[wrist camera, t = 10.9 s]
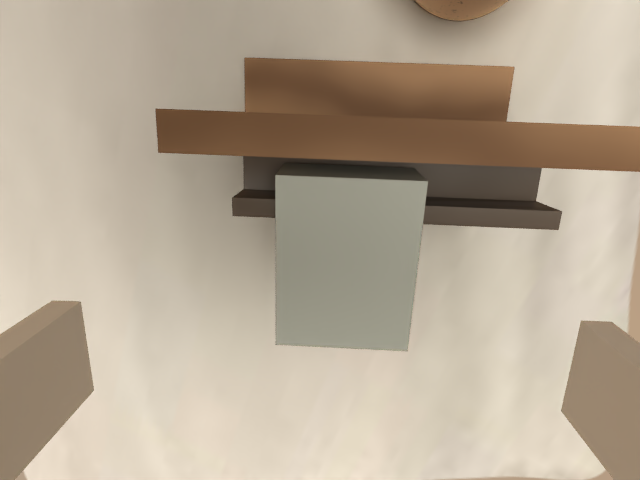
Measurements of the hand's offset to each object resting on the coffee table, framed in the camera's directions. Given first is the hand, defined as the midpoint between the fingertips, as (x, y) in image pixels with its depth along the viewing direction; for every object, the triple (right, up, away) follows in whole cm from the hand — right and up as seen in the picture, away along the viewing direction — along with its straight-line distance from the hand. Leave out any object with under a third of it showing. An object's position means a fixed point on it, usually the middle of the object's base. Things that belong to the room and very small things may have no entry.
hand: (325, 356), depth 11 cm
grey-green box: (+1, +4, +16) cm, 16 cm away
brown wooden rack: (+4, +11, +19) cm, 22 cm away
